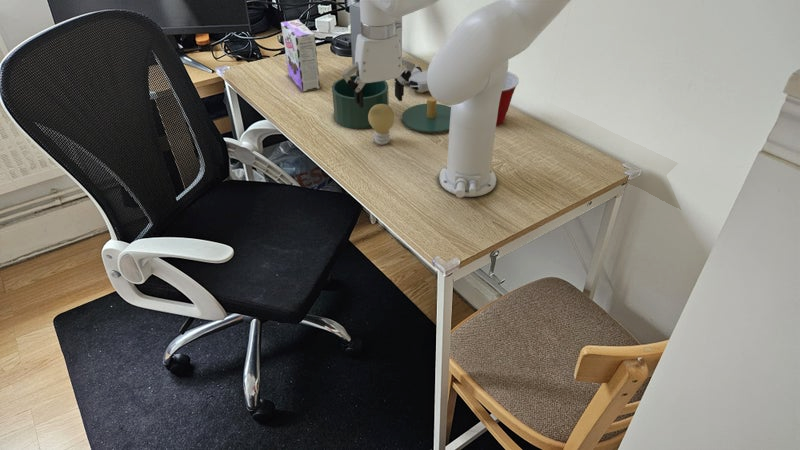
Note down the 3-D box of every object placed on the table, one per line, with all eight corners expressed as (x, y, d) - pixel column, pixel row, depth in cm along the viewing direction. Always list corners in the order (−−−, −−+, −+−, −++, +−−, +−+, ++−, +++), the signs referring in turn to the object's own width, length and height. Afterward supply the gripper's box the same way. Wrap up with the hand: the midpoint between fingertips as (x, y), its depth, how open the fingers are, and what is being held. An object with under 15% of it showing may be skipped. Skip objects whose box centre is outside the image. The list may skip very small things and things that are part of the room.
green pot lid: (458, 137, 131) (460, 115, 127) (397, 132, 133) (397, 111, 129) (462, 108, 143) (463, 88, 139) (406, 105, 145) (406, 84, 141)
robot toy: (387, 86, 156) (420, 99, 146) (386, 71, 153) (420, 84, 144) (418, 75, 162) (451, 87, 153) (417, 61, 159) (451, 72, 150)
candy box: (287, 75, 161) (279, 21, 150) (305, 71, 163) (299, 18, 152) (302, 92, 151) (294, 36, 141) (321, 88, 153) (315, 32, 143)
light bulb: (391, 150, 126) (391, 112, 120) (366, 147, 127) (364, 110, 121) (397, 137, 131) (396, 100, 124) (372, 134, 132) (371, 98, 126)
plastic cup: (463, 121, 137) (466, 78, 129) (488, 107, 143) (492, 66, 135) (496, 135, 131) (502, 91, 124) (521, 120, 137) (527, 77, 129)
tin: (383, 130, 133) (382, 100, 128) (328, 126, 135) (325, 96, 130) (392, 105, 144) (392, 76, 139) (341, 102, 146) (339, 73, 141)
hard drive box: (368, 76, 160) (365, 10, 147) (351, 70, 164) (347, 4, 151) (403, 62, 168) (402, -2, 156) (386, 56, 172) (384, -7, 160)
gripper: (408, 19, 116) (407, 89, 127) (334, 28, 112) (339, 101, 123) (421, 30, 111) (419, 103, 122) (344, 40, 106) (349, 115, 117)
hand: (379, 101), depth 122 cm, fingers open, 9 cm apart
